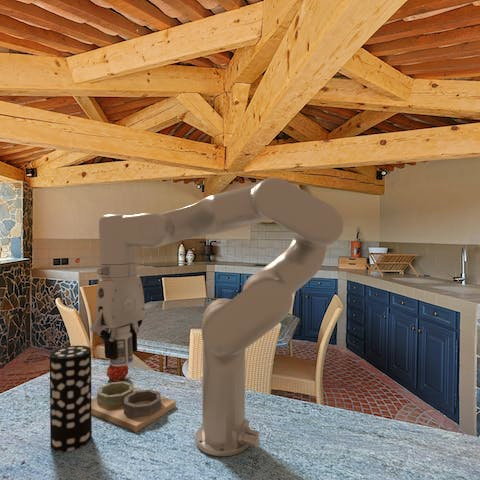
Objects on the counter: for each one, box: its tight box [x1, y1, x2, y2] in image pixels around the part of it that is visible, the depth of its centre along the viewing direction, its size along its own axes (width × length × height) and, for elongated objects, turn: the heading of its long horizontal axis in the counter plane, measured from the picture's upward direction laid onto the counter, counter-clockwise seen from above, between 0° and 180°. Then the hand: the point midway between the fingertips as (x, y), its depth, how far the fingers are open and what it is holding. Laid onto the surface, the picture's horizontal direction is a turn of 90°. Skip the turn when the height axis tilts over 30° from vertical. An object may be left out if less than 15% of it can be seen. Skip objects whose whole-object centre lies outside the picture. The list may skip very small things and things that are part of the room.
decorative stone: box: [106, 364, 129, 382], centre depth 113 cm, size 6×7×8 cm
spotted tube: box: [49, 345, 93, 453], centre depth 80 cm, size 8×8×20 cm
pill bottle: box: [109, 324, 134, 367], centre depth 79 cm, size 5×5×8 cm
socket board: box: [91, 380, 177, 433], centre depth 95 cm, size 20×14×4 cm
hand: (121, 353), depth 79 cm, fingers closed on pill bottle, 4 cm apart
